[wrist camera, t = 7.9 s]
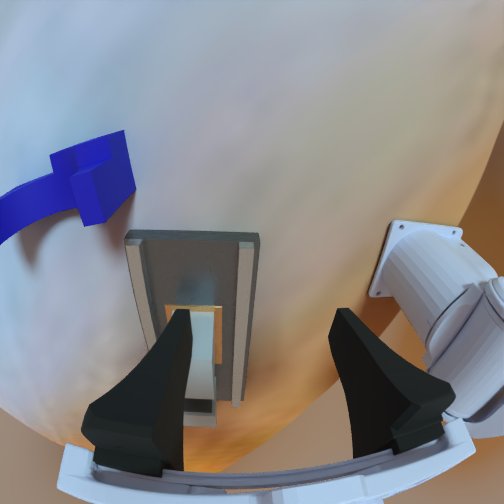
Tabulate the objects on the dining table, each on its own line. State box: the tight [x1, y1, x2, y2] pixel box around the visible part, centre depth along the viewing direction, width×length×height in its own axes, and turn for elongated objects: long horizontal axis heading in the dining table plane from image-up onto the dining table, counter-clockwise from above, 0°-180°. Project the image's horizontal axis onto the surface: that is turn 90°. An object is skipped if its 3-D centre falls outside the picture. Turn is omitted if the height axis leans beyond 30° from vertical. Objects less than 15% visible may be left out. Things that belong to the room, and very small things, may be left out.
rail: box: [124, 230, 260, 407], centre depth 25 cm, size 10×22×2 cm, turn 176°
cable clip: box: [0, 130, 136, 245], centre depth 15 cm, size 12×4×6 cm, turn 96°
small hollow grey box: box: [183, 377, 217, 428], centre depth 26 cm, size 4×3×5 cm
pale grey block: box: [172, 311, 215, 399], centre depth 22 cm, size 4×6×5 cm, turn 176°
